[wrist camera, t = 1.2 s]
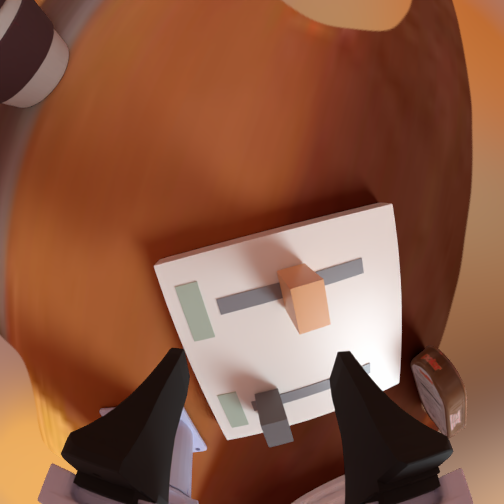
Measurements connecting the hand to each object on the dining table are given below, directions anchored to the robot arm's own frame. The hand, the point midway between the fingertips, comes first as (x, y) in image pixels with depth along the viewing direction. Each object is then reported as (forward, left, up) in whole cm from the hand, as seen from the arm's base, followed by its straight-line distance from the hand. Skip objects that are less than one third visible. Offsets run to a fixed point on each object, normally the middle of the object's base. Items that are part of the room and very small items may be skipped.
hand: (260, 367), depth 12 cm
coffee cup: (-13, +25, -10) cm, 30 cm away
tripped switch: (+4, +1, -7) cm, 8 cm away
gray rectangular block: (0, -9, -7) cm, 12 cm away
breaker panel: (+4, -4, -9) cm, 11 cm away
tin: (+18, -17, -10) cm, 27 cm away
